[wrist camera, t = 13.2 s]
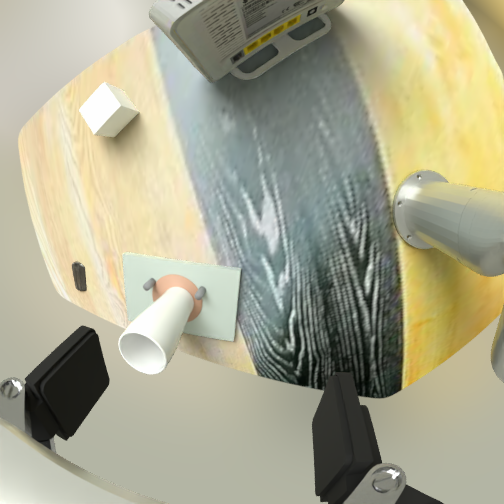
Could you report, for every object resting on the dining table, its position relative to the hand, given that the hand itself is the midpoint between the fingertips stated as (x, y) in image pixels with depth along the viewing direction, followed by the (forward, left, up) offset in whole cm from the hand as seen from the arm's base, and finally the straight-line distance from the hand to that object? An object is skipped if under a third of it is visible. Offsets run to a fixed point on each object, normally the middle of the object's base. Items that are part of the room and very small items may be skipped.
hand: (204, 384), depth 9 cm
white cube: (+25, -16, -32) cm, 44 cm away
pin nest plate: (+12, +14, -32) cm, 37 cm away
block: (+34, +14, -33) cm, 49 cm away
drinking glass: (+11, +14, -31) cm, 36 cm away
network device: (+1, -30, -32) cm, 44 cm away
